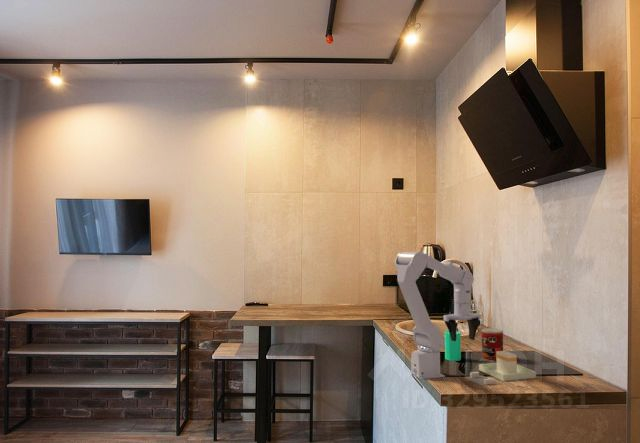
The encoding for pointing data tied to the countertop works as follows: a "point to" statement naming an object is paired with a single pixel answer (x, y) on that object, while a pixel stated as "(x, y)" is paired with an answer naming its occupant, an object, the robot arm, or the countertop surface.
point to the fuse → (506, 362)
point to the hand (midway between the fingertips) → (462, 339)
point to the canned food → (491, 342)
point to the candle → (452, 347)
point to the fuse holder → (480, 379)
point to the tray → (521, 374)
